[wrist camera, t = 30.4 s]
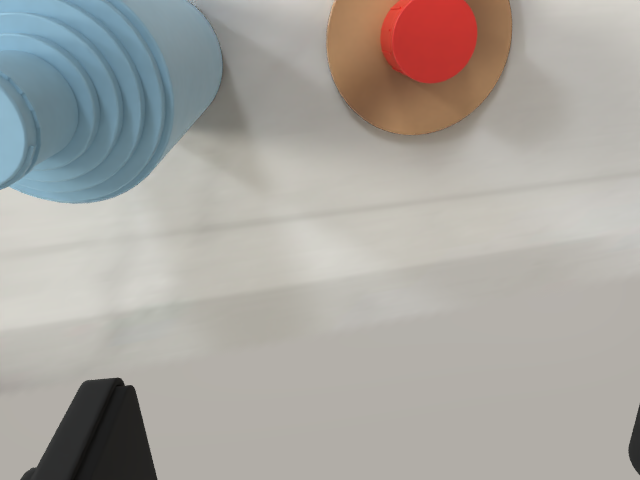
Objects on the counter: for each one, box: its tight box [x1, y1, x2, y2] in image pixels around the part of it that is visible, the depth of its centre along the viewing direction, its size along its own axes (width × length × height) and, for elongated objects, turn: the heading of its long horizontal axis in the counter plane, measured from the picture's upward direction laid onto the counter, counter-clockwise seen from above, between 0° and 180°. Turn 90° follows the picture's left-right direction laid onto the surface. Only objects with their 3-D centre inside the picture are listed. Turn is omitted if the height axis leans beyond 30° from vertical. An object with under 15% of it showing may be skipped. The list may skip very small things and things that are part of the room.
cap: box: [380, 0, 477, 83], centre depth 25 cm, size 4×4×3 cm
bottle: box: [0, 0, 223, 204], centre depth 19 cm, size 7×7×18 cm
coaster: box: [326, 0, 512, 135], centre depth 27 cm, size 10×10×1 cm
